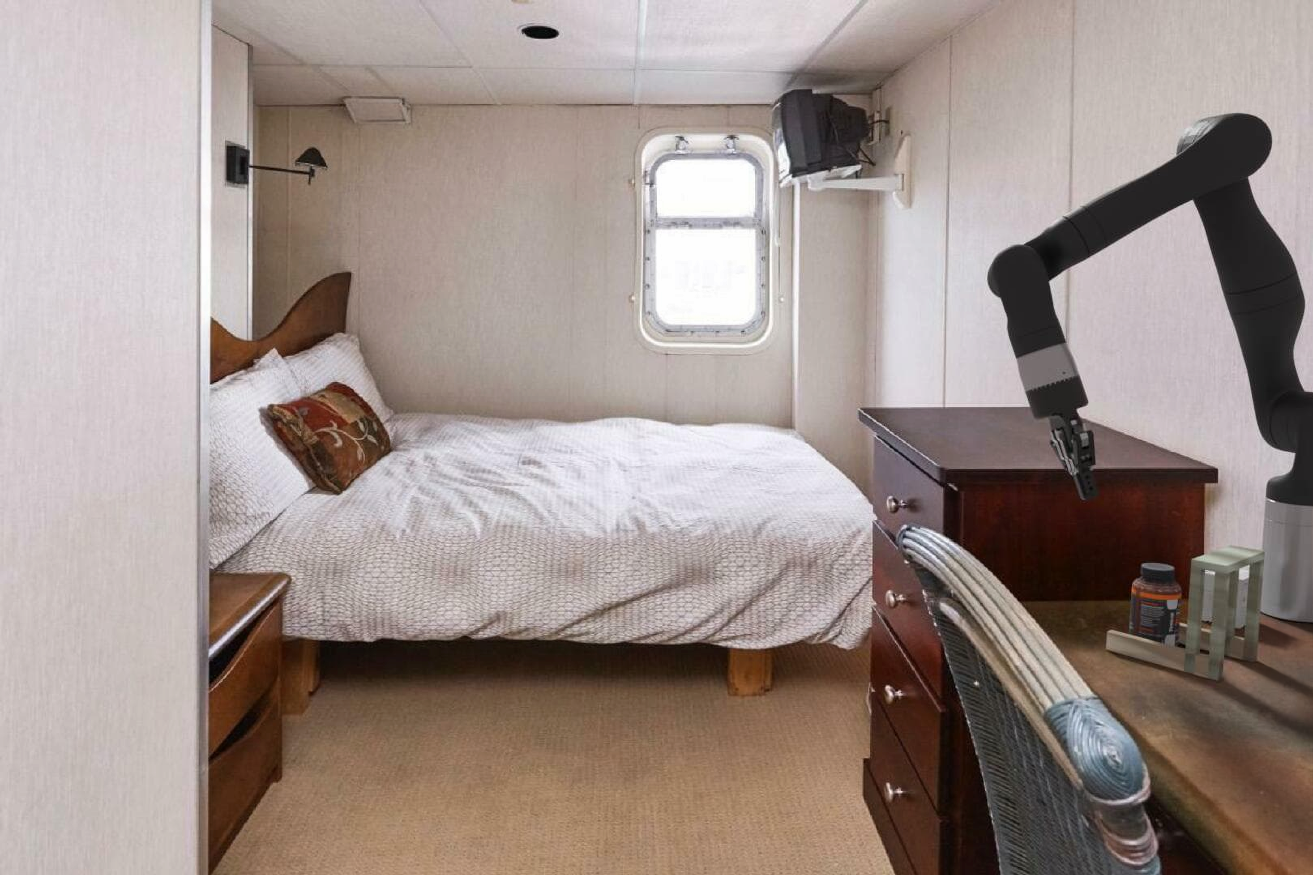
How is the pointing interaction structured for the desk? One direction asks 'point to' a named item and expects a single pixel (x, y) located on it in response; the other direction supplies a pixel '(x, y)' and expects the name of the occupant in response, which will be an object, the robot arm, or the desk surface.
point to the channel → (1223, 618)
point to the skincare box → (1240, 597)
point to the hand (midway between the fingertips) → (1090, 498)
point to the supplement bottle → (1156, 604)
